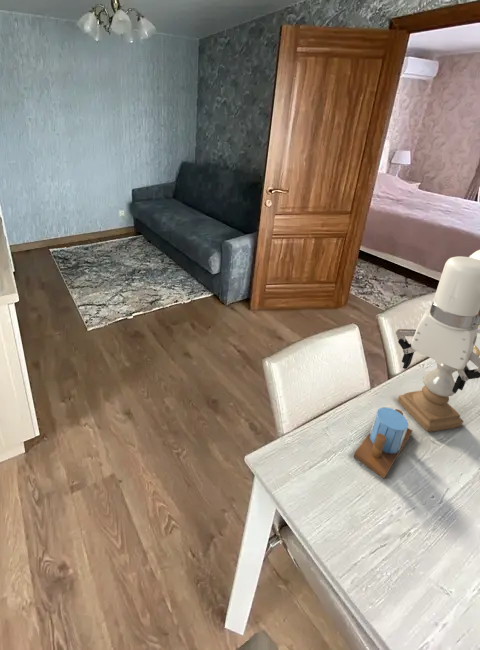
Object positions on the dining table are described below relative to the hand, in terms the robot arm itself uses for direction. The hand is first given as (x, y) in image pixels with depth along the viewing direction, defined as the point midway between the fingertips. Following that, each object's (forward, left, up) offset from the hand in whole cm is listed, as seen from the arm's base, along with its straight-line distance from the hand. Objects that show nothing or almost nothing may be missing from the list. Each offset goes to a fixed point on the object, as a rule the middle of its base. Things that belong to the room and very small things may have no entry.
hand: (429, 377), depth 79 cm
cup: (+5, +3, -21) cm, 22 cm away
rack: (+5, +3, -23) cm, 23 cm away
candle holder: (-6, -15, -23) cm, 28 cm away
